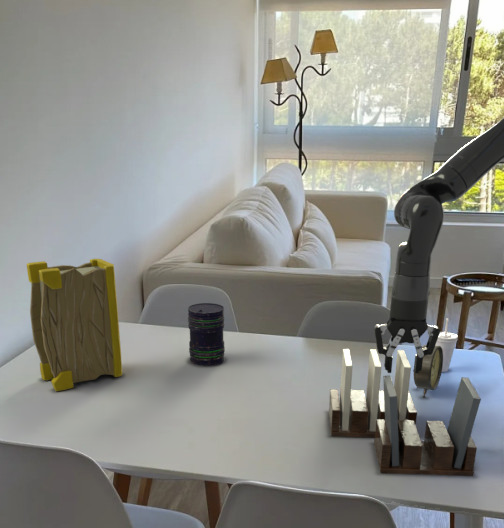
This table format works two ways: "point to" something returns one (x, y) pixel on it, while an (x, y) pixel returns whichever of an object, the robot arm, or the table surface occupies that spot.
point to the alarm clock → (430, 370)
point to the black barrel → (206, 334)
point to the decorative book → (75, 321)
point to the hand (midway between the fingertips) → (402, 371)
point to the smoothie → (446, 346)
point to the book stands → (402, 439)
